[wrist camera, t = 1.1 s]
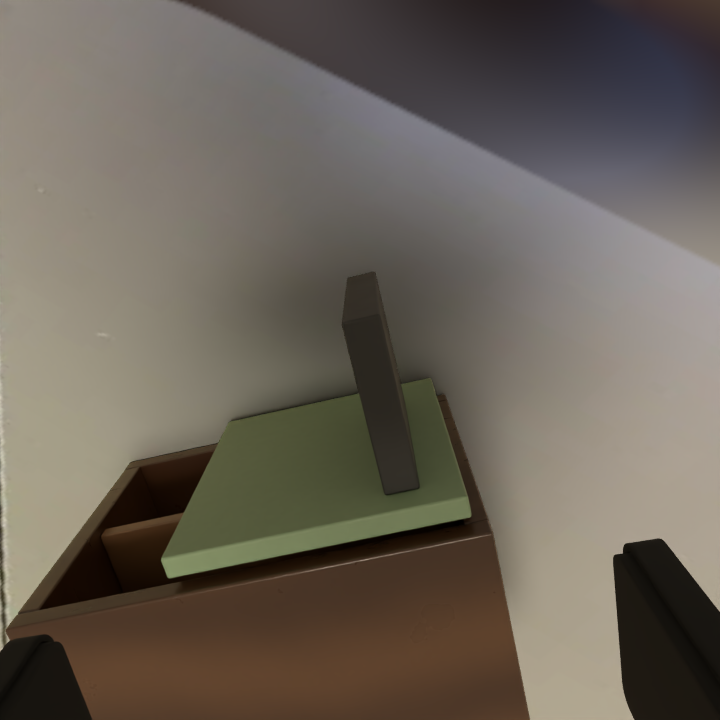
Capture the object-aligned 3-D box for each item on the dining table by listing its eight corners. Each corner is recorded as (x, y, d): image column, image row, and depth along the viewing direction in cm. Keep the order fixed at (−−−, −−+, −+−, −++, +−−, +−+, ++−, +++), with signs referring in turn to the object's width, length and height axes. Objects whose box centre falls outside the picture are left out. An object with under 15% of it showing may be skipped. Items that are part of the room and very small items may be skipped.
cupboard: (130, 462, 32) (3, 630, 21) (445, 393, 31) (493, 532, 20) (202, 652, 36) (127, 886, 24) (487, 597, 35) (549, 815, 23)
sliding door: (190, 303, 30) (93, 387, 19) (404, 253, 29) (429, 311, 18) (232, 436, 32) (167, 580, 21) (434, 392, 31) (472, 518, 20)
